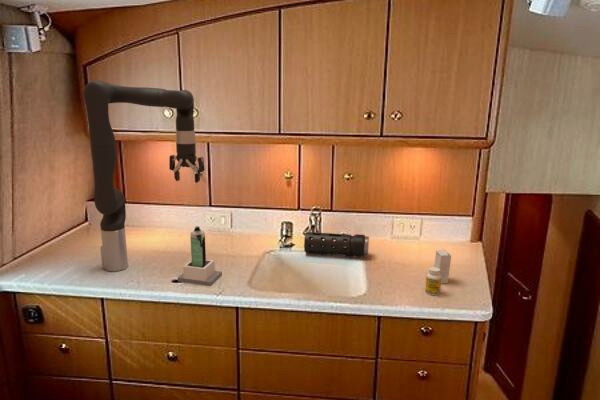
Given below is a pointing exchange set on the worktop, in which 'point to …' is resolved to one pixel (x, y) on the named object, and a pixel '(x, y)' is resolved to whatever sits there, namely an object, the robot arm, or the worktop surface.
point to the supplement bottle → (433, 281)
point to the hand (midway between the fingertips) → (187, 181)
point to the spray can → (198, 248)
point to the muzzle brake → (336, 244)
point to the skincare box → (443, 264)
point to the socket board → (200, 274)
